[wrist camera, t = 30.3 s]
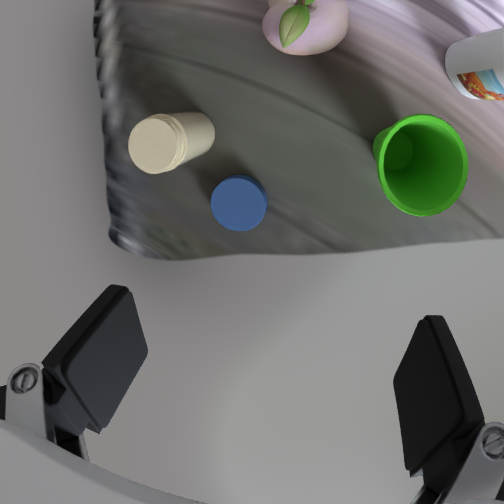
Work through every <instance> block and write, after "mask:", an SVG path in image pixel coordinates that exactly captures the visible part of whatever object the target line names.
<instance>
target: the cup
mask: <svg viewBox="0 0 504 504" xmlns="http://www.w3.org/2000/svg"><path fill="white" fill-rule="evenodd" d="M373 155H374V157H375V160H376V163H377V171H378V179H379V181H380V184H381V187H382V189H383V191H384V193H385V194H386V196H387V197H388V199H389V200H390V201H391V202H392V203H393V204H394V205H395V206H396V207H397V208H398V209H400V210H402V211H404V212H406V213H408V214H411V215H415V216H431V215H434V214H438V213H440V212H442V211H444V210H446V209H447V208H449V207H450V206H451V205H452V204H453V203H454V202H455V201H456V200H457V199H458V197H459V196H460V194H461V193H462V191H463V189H464V186H465V183H466V181H467V174H468V157H467V153H466V150H465V146H464V144H463V142H462V140H461V138H460V136H459V135H458V133H457V132H456V131H455V130H454V129H453V127H452V126H451V125H449V124H448V123H447V122H445V121H444V120H442V119H441V118H438V117H435V116H433V115H429V114H415V115H410V116H407V117H405V118H403V119H401V120H399V121H397V122H396V123H395V124H394V125H393V126H391V127H389V128H386V129H384V130H382V131H381V132H380V133H379V134H377V136H376V138H375V139H374V142H373Z"/></svg>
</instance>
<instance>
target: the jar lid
mask: <svg viewBox="0 0 504 504" xmlns="http://www.w3.org/2000/svg"><path fill="white" fill-rule="evenodd" d="M267 200H268V199H267V195H266V192H265V190H264V188H263V187H262V186H261V184H260V183H259V182H258V181H256V180H255V179H253V178H251V177H249V176H246V175H242V174H241V175H231V176H230V177H228V178H226V179H225V180H224V179H223V180H222V181H221V183H220V184H219V185H218V186H217V187H216V188H215V190H214V191H213V193H212V196H211V209H212V212H213V215H214V217H215V218H216V220H217V221H218V222H219V223H220V224H221V225H223V226H224V227H226V228H228V229H230V230H234V231H246V230H249V229H252V228H253V227H255V226H256V225H257V224H258V223H259V222H260V221H261V220H262V218H263V216H264V213H265V212H266V210H267Z"/></svg>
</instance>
